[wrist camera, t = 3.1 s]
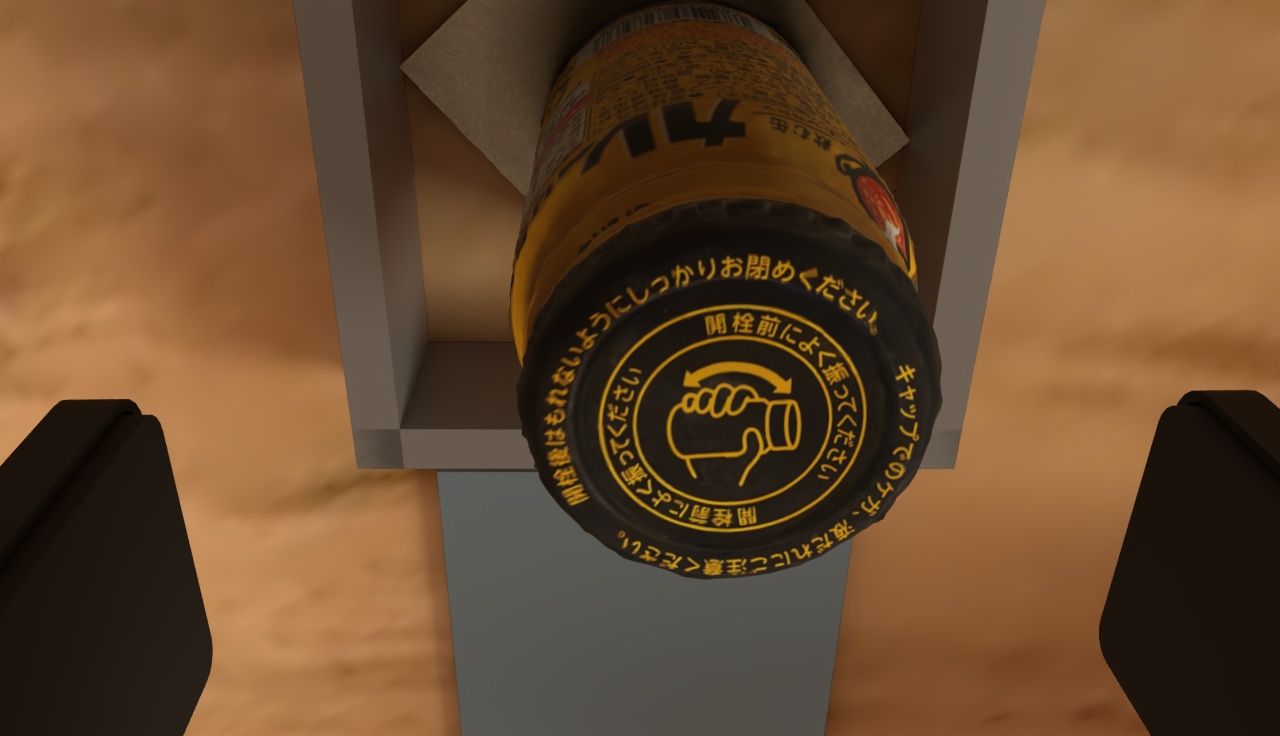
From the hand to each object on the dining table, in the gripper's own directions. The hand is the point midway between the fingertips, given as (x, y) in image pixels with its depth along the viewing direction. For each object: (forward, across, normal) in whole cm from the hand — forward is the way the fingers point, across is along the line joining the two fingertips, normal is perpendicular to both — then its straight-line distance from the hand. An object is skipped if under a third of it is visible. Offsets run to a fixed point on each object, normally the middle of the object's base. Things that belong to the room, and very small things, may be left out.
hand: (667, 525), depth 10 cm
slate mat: (+15, -1, +15) cm, 21 cm away
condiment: (+15, -1, 0) cm, 15 cm away
